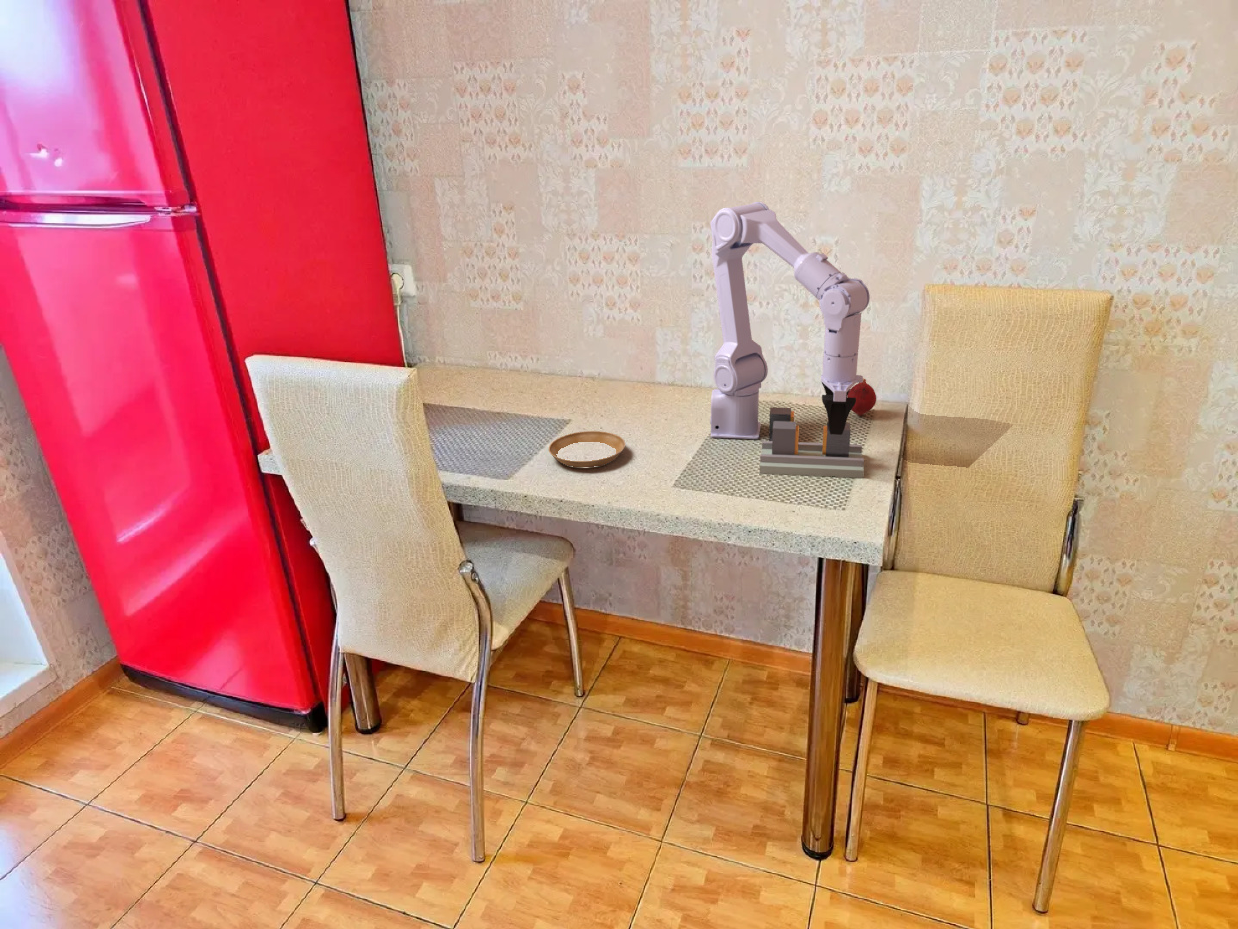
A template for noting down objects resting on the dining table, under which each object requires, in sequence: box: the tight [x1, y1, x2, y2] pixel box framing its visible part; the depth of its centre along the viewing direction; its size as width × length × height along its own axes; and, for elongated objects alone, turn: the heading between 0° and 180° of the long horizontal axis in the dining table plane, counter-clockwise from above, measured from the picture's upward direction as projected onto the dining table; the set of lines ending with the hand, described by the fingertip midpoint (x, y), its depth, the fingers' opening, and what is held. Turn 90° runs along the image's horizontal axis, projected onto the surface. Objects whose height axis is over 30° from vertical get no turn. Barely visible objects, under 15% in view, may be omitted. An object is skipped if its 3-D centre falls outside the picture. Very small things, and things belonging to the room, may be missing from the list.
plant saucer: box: [548, 430, 626, 468], centre depth 158 cm, size 15×15×3 cm
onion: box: [847, 377, 877, 417], centre depth 169 cm, size 6×6×8 cm
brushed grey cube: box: [821, 421, 852, 458], centre depth 148 cm, size 5×4×6 cm
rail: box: [759, 421, 865, 479], centre depth 149 cm, size 18×10×8 cm, turn 78°
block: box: [768, 406, 795, 441], centre depth 161 cm, size 5×4×6 cm
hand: (835, 425), depth 147 cm, fingers open, 7 cm apart
